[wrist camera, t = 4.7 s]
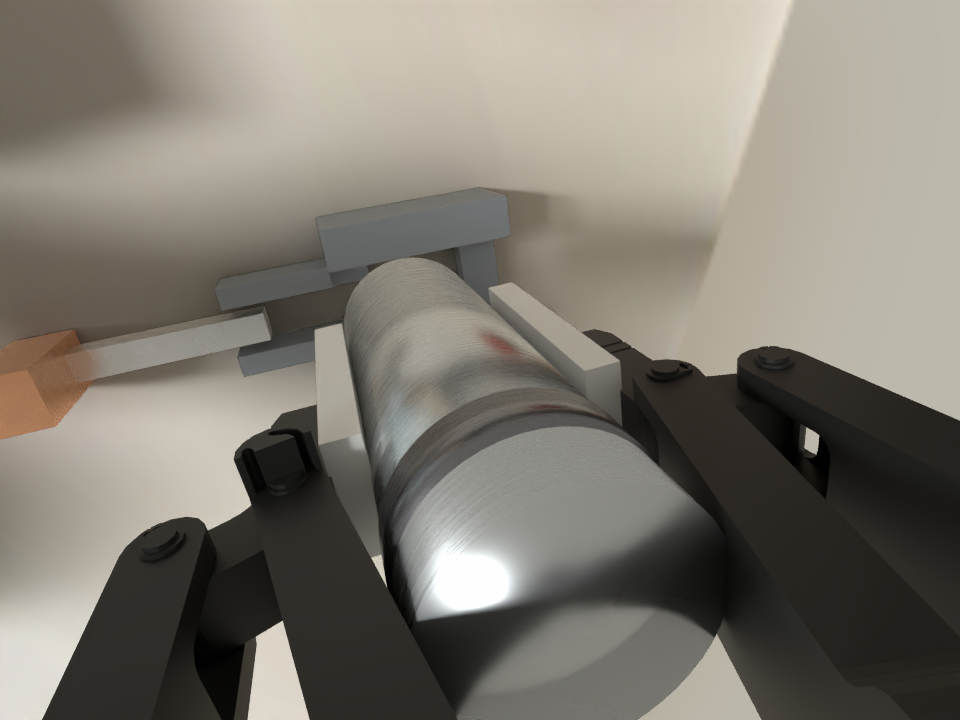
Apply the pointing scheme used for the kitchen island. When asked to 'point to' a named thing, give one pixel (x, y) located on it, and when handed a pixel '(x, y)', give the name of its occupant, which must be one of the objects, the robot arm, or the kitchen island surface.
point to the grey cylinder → (521, 515)
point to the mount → (372, 260)
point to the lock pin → (105, 363)
